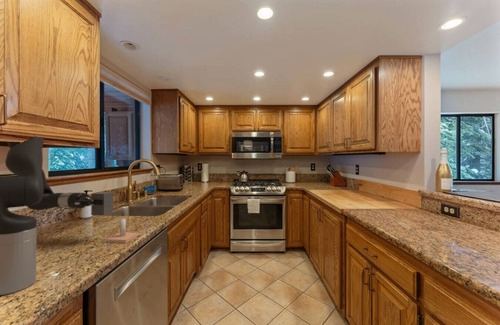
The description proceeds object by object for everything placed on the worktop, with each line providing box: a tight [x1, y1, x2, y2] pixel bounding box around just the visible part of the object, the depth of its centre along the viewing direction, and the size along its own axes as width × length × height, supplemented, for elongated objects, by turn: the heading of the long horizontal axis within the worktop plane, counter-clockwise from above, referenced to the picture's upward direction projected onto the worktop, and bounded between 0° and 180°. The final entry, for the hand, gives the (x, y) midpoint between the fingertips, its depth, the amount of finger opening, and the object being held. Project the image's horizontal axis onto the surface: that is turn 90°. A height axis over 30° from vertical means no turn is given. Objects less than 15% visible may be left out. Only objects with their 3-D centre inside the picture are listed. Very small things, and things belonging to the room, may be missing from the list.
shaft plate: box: [104, 218, 139, 244], centre depth 104 cm, size 10×10×10 cm
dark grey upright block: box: [90, 191, 114, 216], centre depth 101 cm, size 6×6×10 cm
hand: (107, 201), depth 101 cm, fingers closed on dark grey upright block, 6 cm apart
